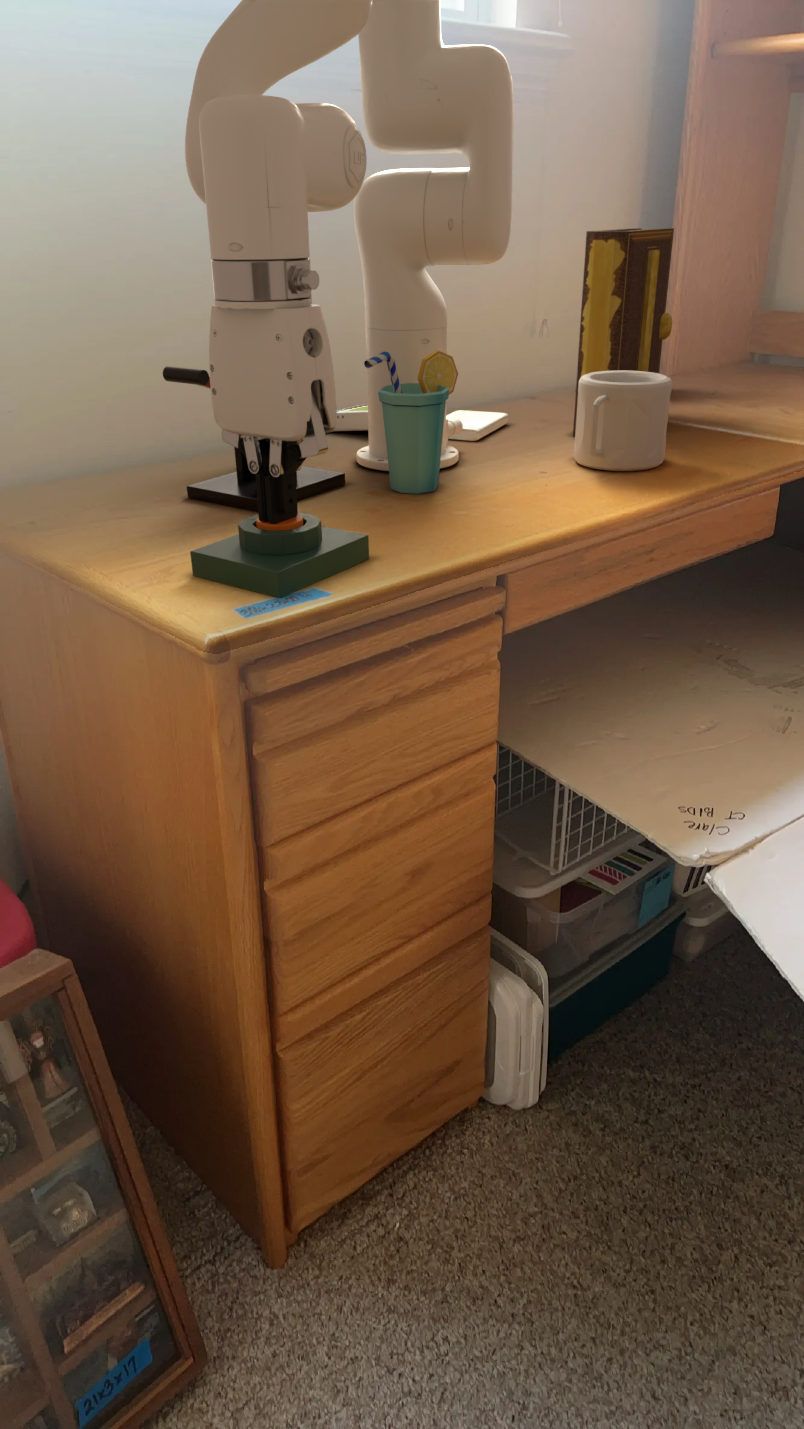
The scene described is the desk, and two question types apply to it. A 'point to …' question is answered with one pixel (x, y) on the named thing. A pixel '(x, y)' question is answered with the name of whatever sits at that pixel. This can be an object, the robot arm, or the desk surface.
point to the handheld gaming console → (352, 419)
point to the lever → (187, 376)
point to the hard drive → (477, 423)
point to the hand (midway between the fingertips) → (278, 518)
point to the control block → (279, 556)
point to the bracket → (242, 485)
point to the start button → (281, 524)
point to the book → (624, 301)
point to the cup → (415, 421)
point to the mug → (622, 420)
